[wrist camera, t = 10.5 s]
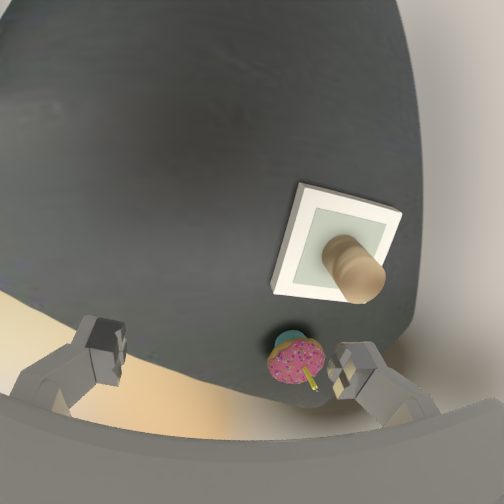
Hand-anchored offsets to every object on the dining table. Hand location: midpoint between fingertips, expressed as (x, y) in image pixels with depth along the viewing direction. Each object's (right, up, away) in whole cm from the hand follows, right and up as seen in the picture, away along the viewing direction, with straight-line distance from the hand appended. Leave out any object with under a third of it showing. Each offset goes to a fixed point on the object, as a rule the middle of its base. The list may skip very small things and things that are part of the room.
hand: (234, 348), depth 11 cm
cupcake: (+7, -10, +36) cm, 38 cm away
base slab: (+11, +4, +29) cm, 31 cm away
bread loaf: (+12, +3, +26) cm, 29 cm away
